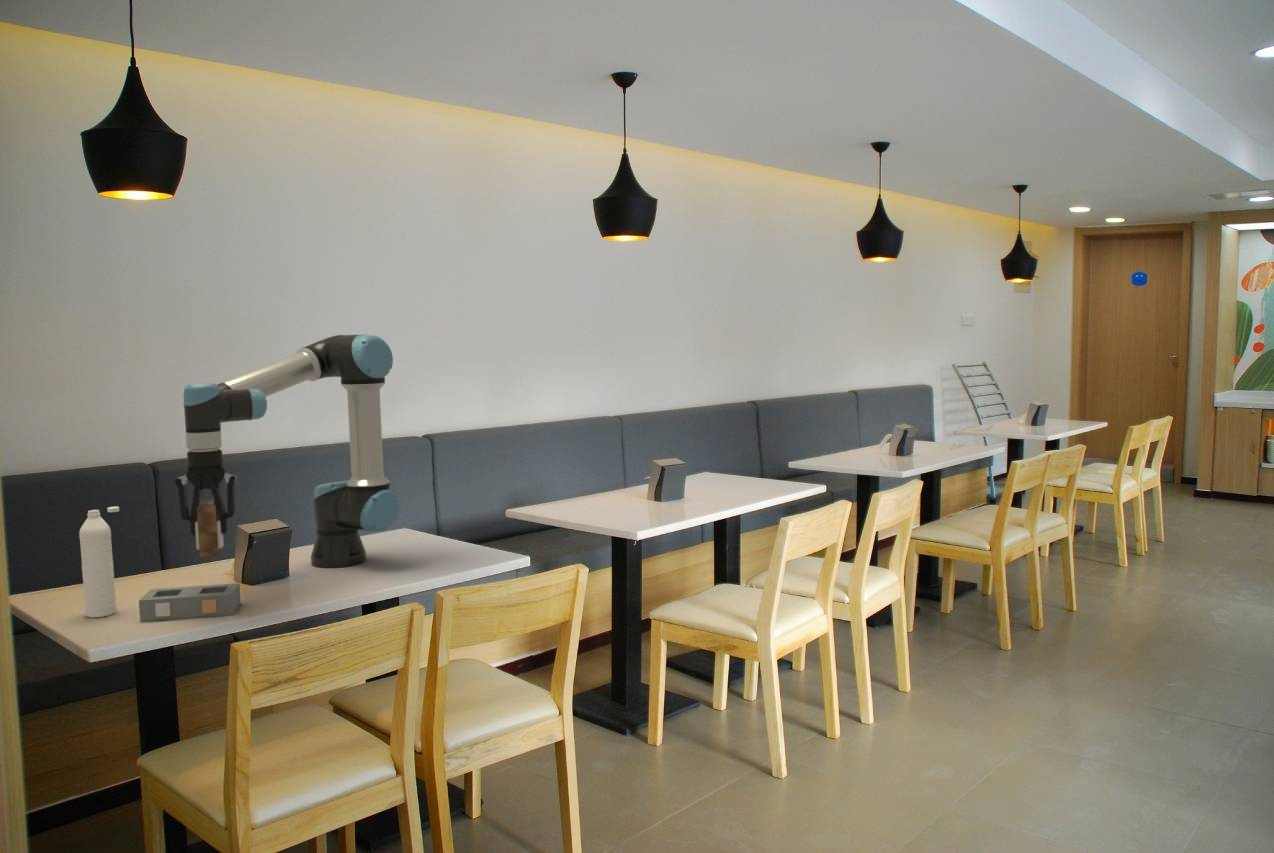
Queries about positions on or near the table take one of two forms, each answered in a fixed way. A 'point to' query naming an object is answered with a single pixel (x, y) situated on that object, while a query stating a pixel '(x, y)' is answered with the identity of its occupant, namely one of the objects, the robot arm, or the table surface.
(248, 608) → the table surface
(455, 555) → the table surface
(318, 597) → the table surface
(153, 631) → the table surface
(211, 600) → the socket block
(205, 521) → the plug
